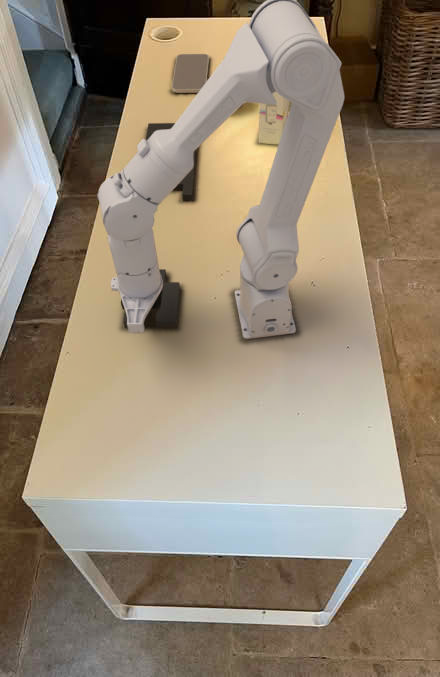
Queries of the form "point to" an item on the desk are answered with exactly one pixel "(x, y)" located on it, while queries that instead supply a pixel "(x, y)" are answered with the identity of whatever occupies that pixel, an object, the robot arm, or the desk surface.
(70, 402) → the desk surface
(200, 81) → the smartphone
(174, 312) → the charcoal pad
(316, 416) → the desk surface
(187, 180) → the black pad
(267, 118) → the ink cartridge box
